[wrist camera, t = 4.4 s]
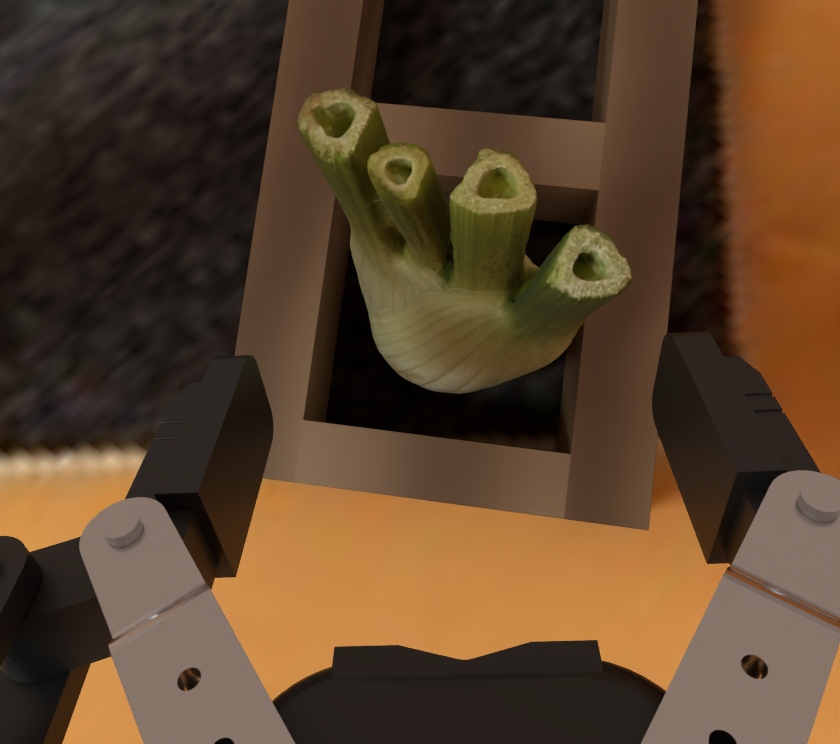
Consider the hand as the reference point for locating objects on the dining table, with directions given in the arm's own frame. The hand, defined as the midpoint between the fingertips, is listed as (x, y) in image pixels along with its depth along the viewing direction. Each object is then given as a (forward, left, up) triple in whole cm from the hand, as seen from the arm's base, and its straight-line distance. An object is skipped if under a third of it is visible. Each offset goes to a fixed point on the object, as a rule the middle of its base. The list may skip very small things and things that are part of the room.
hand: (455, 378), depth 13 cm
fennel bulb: (0, +2, -8) cm, 9 cm away
